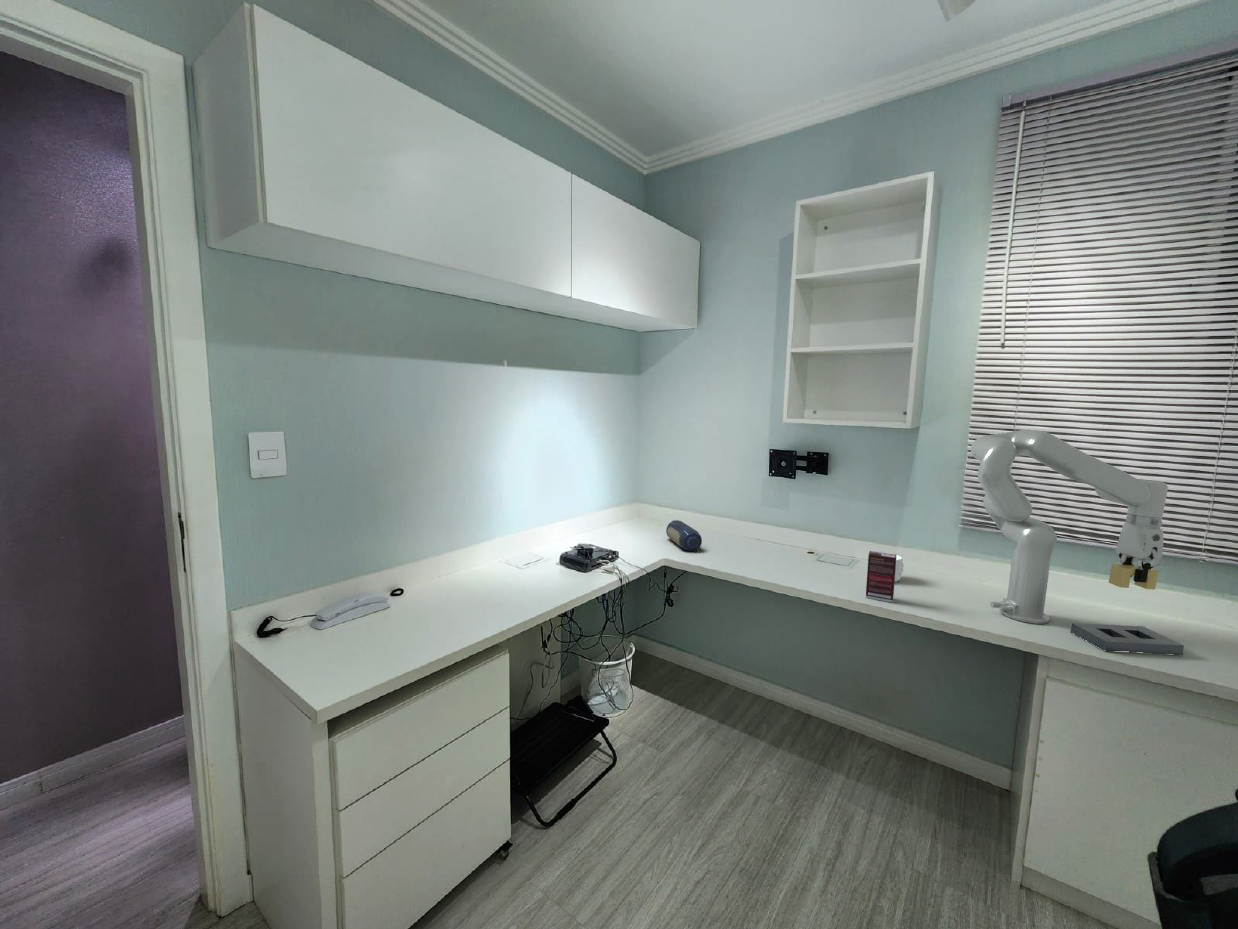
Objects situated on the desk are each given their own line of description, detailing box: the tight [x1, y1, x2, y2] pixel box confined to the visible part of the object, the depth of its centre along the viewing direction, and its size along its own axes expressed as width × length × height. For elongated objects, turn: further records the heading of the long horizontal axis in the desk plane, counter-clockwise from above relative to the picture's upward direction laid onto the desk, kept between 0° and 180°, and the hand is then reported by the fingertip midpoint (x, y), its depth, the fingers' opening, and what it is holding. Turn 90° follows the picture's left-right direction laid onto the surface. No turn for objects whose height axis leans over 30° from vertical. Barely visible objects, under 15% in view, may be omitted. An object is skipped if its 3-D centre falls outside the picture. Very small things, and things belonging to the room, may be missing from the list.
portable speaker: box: [665, 519, 703, 552], centre depth 239 cm, size 25×10×10 cm, turn 15°
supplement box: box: [865, 550, 897, 603], centre depth 178 cm, size 9×5×16 cm, turn 60°
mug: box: [888, 552, 905, 583], centre depth 197 cm, size 12×10×9 cm
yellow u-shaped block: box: [1108, 563, 1160, 591], centre depth 158 cm, size 10×4×6 cm, turn 85°
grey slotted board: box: [1070, 622, 1185, 656], centre depth 148 cm, size 20×12×3 cm, turn 85°
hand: (1132, 578), depth 158 cm, fingers closed on yellow u-shaped block, 4 cm apart
